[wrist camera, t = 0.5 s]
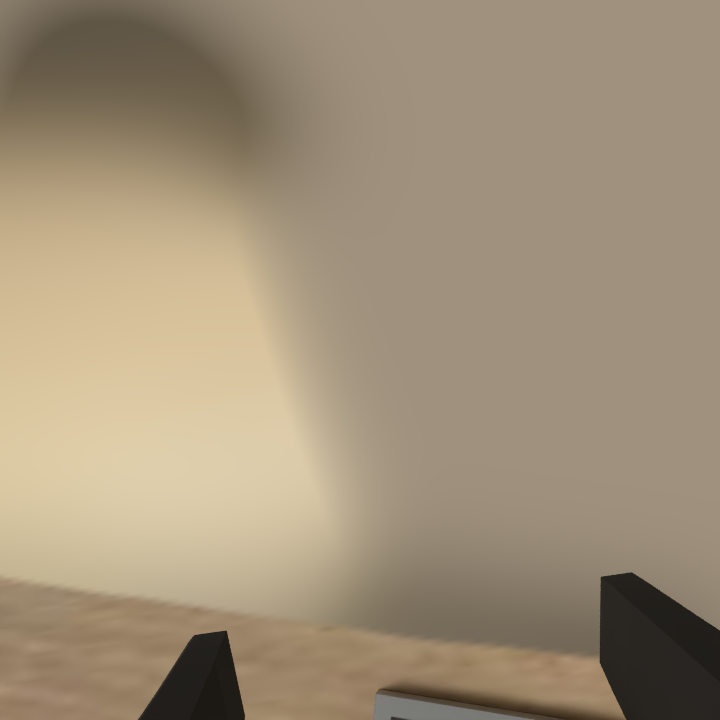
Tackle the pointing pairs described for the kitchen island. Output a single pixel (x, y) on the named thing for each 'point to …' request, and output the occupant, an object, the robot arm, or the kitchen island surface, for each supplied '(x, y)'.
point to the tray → (439, 709)
